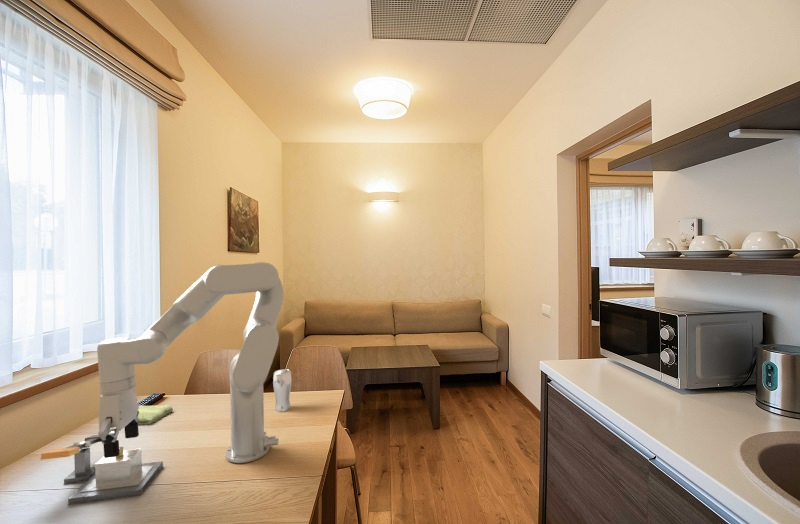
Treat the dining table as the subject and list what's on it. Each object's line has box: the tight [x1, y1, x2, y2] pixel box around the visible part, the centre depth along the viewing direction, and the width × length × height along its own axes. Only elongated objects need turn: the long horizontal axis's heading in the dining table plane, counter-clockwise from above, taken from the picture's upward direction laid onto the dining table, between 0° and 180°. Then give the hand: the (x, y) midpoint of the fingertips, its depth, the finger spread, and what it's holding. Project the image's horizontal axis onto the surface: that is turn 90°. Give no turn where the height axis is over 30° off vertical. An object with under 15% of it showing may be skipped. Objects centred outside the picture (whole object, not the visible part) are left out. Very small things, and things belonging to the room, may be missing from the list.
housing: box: [94, 446, 143, 487], centre depth 97 cm, size 8×6×8 cm
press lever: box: [40, 433, 114, 461], centre depth 100 cm, size 6×21×2 cm, turn 12°
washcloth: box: [136, 404, 174, 426], centre depth 137 cm, size 13×18×3 cm
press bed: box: [63, 447, 164, 505], centre depth 97 cm, size 23×15×7 cm, turn 102°
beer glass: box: [272, 368, 292, 413], centre depth 143 cm, size 7×7×15 cm
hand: (122, 446), depth 97 cm, fingers open, 9 cm apart
